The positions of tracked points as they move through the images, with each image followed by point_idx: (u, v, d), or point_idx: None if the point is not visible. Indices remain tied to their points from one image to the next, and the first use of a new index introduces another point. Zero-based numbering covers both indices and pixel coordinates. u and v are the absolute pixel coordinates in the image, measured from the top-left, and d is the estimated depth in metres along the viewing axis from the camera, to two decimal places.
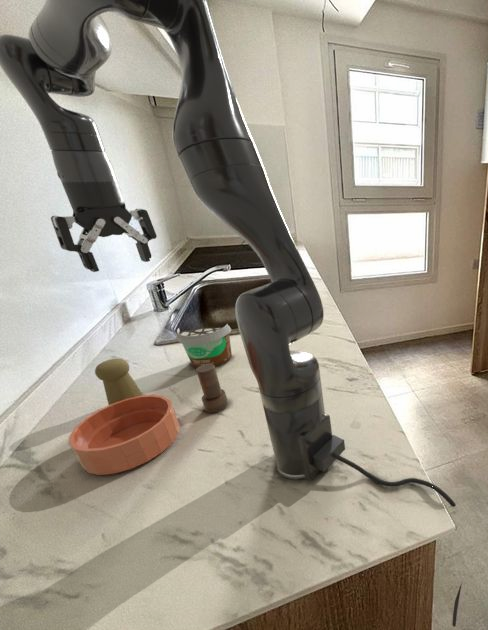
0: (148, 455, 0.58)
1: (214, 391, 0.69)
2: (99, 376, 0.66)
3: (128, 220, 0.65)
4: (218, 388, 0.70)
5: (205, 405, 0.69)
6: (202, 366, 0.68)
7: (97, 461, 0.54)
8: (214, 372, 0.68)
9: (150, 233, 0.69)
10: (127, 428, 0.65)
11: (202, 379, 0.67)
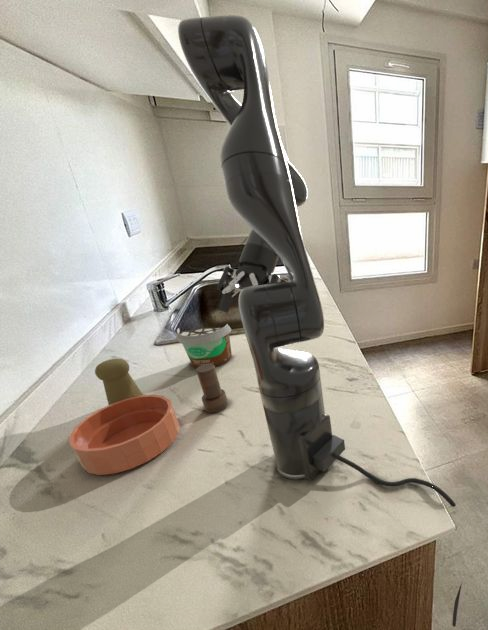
0: (148, 455, 0.58)
1: (214, 391, 0.69)
2: (99, 376, 0.66)
3: (261, 279, 0.74)
4: (218, 388, 0.70)
5: (205, 405, 0.69)
6: (202, 366, 0.68)
7: (97, 461, 0.54)
8: (214, 372, 0.68)
9: None
10: (127, 428, 0.65)
11: (202, 379, 0.67)
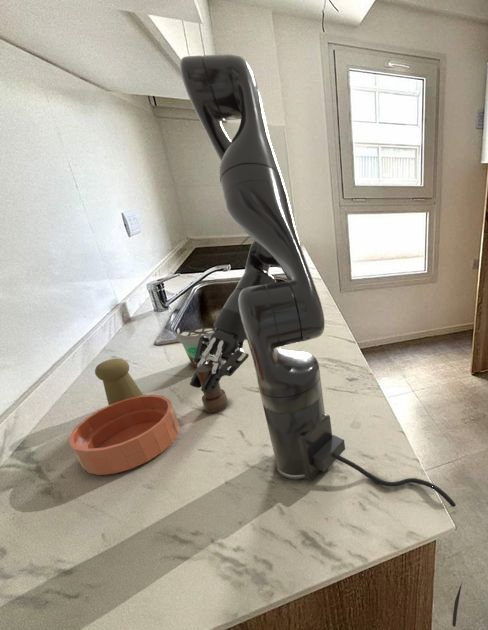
0: (148, 455, 0.58)
1: (214, 391, 0.69)
2: (99, 376, 0.66)
3: (229, 348, 0.68)
4: (218, 388, 0.70)
5: (205, 405, 0.69)
6: (202, 366, 0.68)
7: (97, 461, 0.54)
8: None
9: (221, 367, 0.67)
10: (127, 428, 0.65)
11: (202, 379, 0.67)
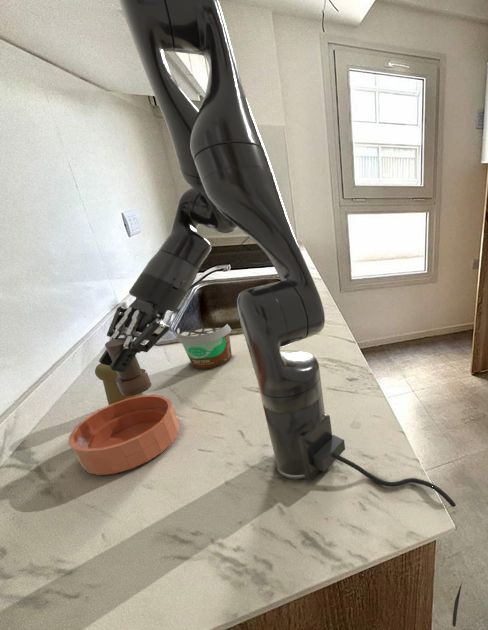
0: (148, 455, 0.58)
1: (129, 370, 0.58)
2: (99, 376, 0.66)
3: (146, 319, 0.58)
4: (135, 367, 0.59)
5: (119, 387, 0.59)
6: (114, 340, 0.58)
7: (97, 461, 0.54)
8: None
9: (134, 341, 0.56)
10: (127, 428, 0.65)
11: (112, 355, 0.56)
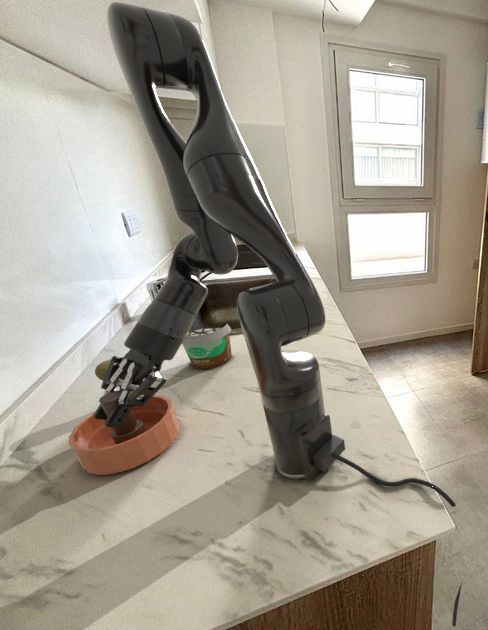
0: (148, 455, 0.58)
1: (125, 424, 0.57)
2: (99, 376, 0.66)
3: (142, 372, 0.56)
4: (131, 420, 0.58)
5: (114, 441, 0.57)
6: (108, 394, 0.56)
7: (97, 461, 0.54)
8: None
9: (130, 396, 0.54)
10: None
11: (107, 410, 0.55)
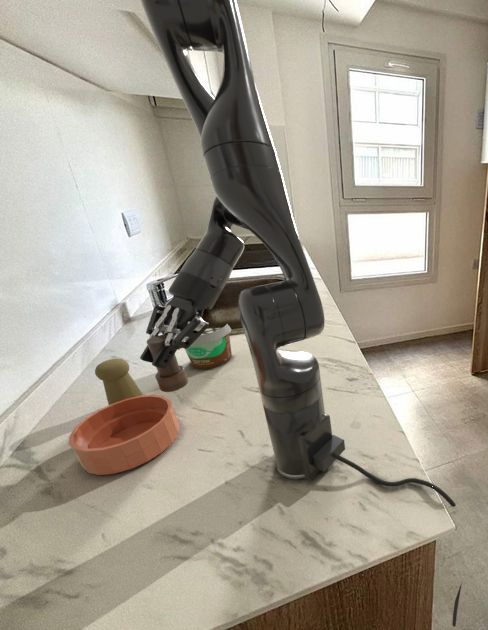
0: (148, 455, 0.58)
1: (169, 366, 0.60)
2: (99, 376, 0.66)
3: (186, 316, 0.59)
4: (174, 363, 0.61)
5: (159, 383, 0.60)
6: (154, 337, 0.59)
7: (97, 461, 0.54)
8: None
9: (176, 337, 0.57)
10: (127, 428, 0.65)
11: (154, 352, 0.58)
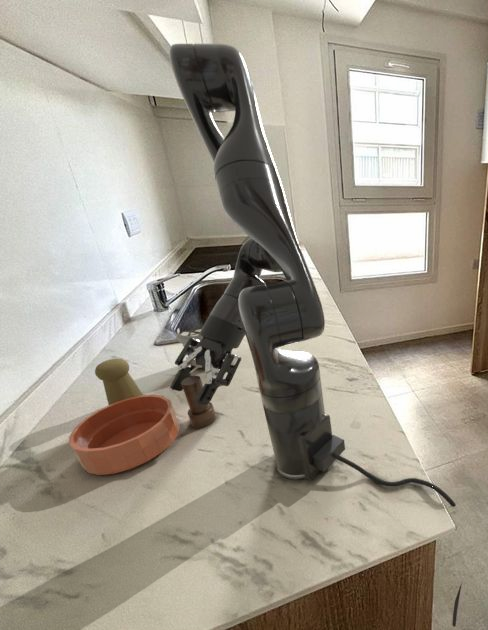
0: (148, 455, 0.58)
1: (201, 405, 0.65)
2: (99, 376, 0.66)
3: (216, 358, 0.64)
4: None
5: (191, 420, 0.65)
6: (188, 378, 0.64)
7: (97, 461, 0.54)
8: (200, 385, 0.64)
9: (217, 377, 0.62)
10: (127, 428, 0.65)
11: (187, 392, 0.63)
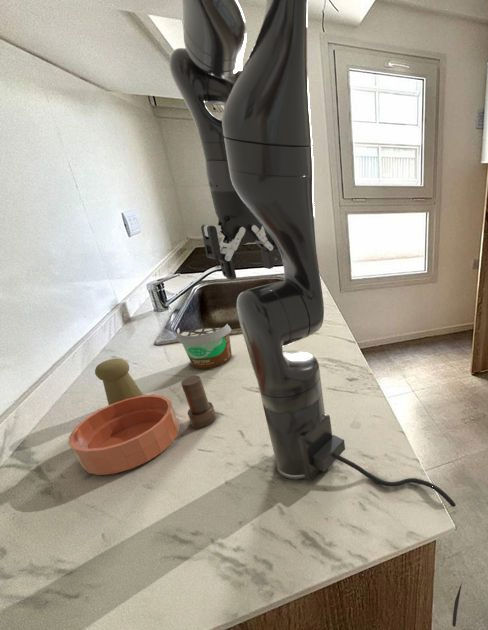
0: (148, 455, 0.58)
1: (201, 405, 0.65)
2: (99, 376, 0.66)
3: (260, 228, 0.66)
4: (205, 401, 0.66)
5: (191, 420, 0.65)
6: (188, 378, 0.64)
7: (97, 461, 0.54)
8: (200, 385, 0.64)
9: None
10: (127, 428, 0.65)
11: (187, 392, 0.63)
